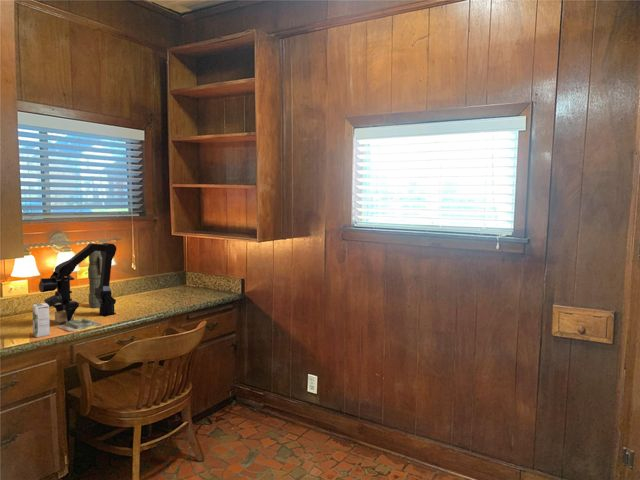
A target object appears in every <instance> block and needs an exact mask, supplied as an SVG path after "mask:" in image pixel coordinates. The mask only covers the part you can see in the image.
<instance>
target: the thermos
mask: <svg viewBox="0 0 640 480" xmlns="http://www.w3.org/2000/svg"><path fill="white" fill-rule="evenodd" d="M88 262H89V263H88V268H87V275H88V276H87V277H88V281H89V283H88V284H89V285H88V286H89V293H88V307H89V308H90V309H100V304H102V303H99V301H98V300H97V299H96V297H95V295H94V294H95V288H98V287H99V285H100V278H101V269H102V256H101V251H94V252H93V253H92V254H90V255H89V256H88Z"/></svg>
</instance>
